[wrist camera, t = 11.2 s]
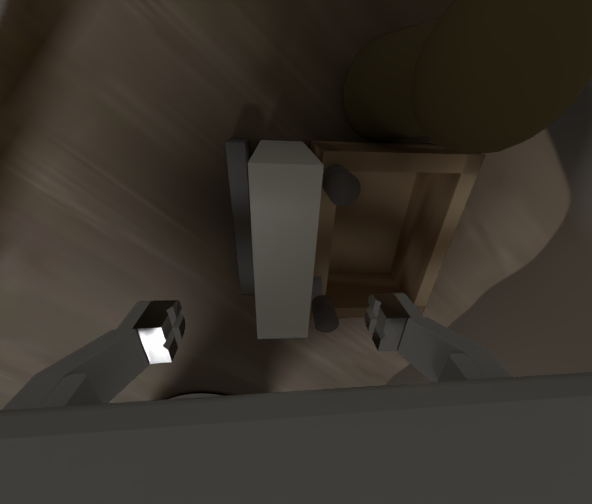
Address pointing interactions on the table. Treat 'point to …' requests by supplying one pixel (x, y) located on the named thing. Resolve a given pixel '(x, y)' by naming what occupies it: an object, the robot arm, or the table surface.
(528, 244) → the table surface
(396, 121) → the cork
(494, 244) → the table surface
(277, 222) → the white rectangular block
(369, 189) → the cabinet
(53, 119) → the table surface
